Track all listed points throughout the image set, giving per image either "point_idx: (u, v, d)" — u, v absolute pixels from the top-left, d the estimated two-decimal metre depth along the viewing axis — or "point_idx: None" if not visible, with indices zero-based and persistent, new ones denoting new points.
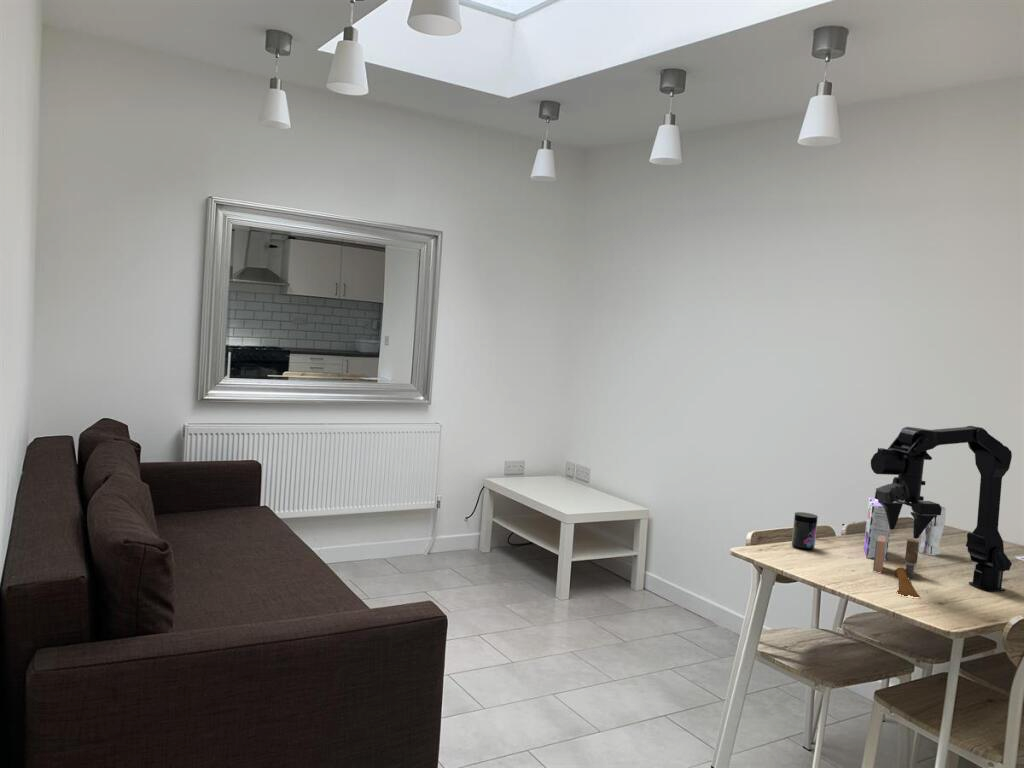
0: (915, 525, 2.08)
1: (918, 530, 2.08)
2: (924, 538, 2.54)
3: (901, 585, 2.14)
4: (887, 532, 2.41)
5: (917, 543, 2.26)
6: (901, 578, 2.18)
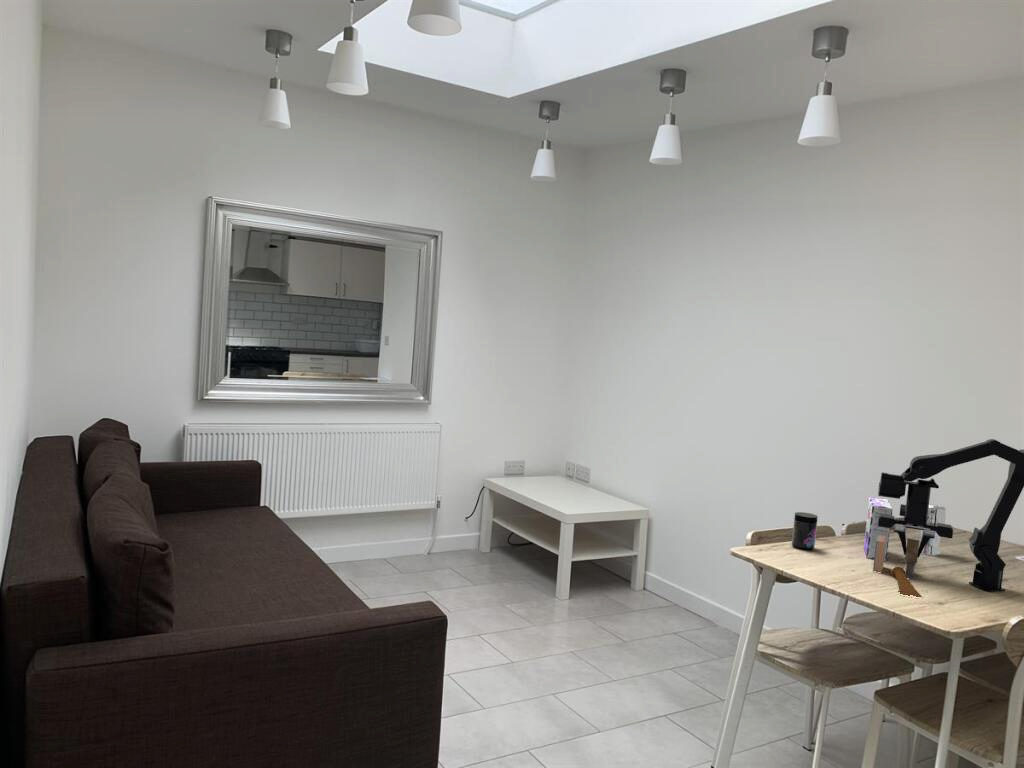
0: None
1: None
2: None
3: (901, 585, 2.14)
4: (887, 532, 2.41)
5: (917, 543, 2.26)
6: (900, 577, 2.19)
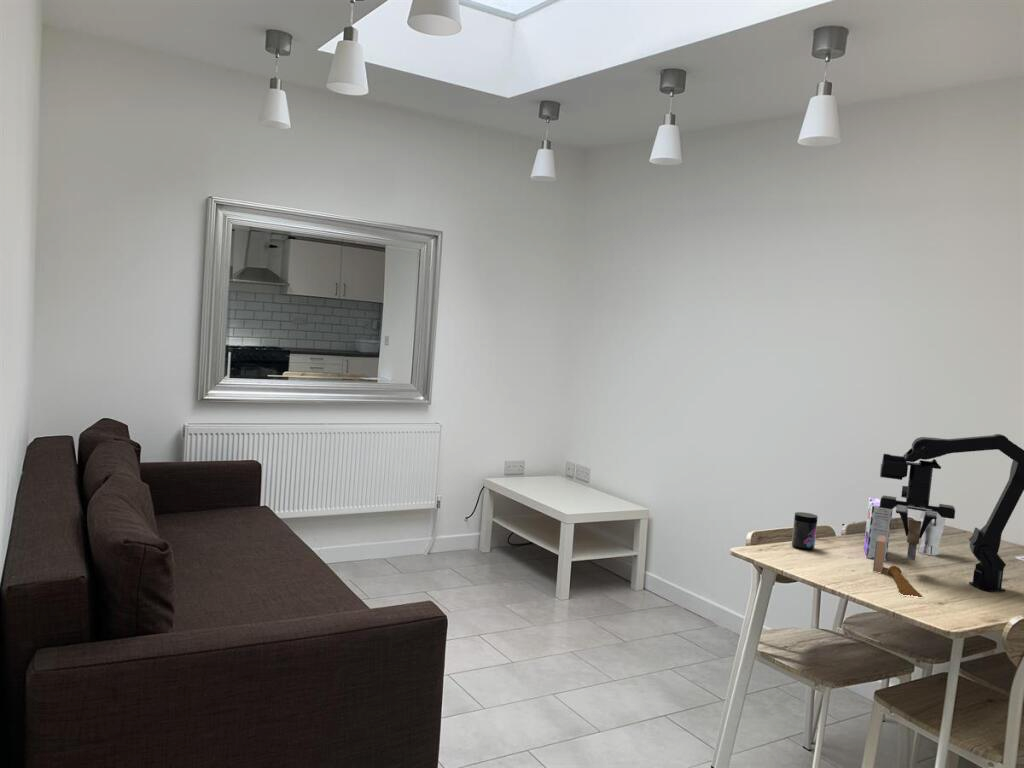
0: None
1: None
2: (924, 538, 2.54)
3: (900, 584, 2.14)
4: (887, 532, 2.41)
5: (919, 524, 2.25)
6: (898, 577, 2.19)
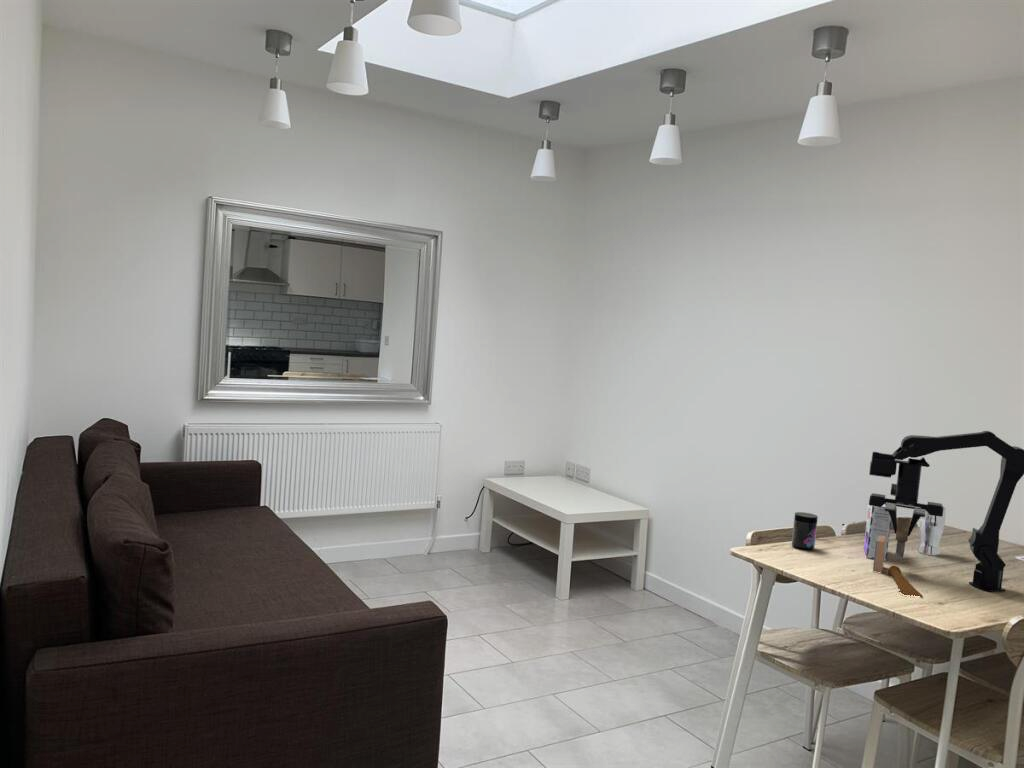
0: None
1: None
2: (924, 538, 2.54)
3: (901, 584, 2.15)
4: (887, 532, 2.41)
5: (908, 521, 2.27)
6: (898, 577, 2.19)
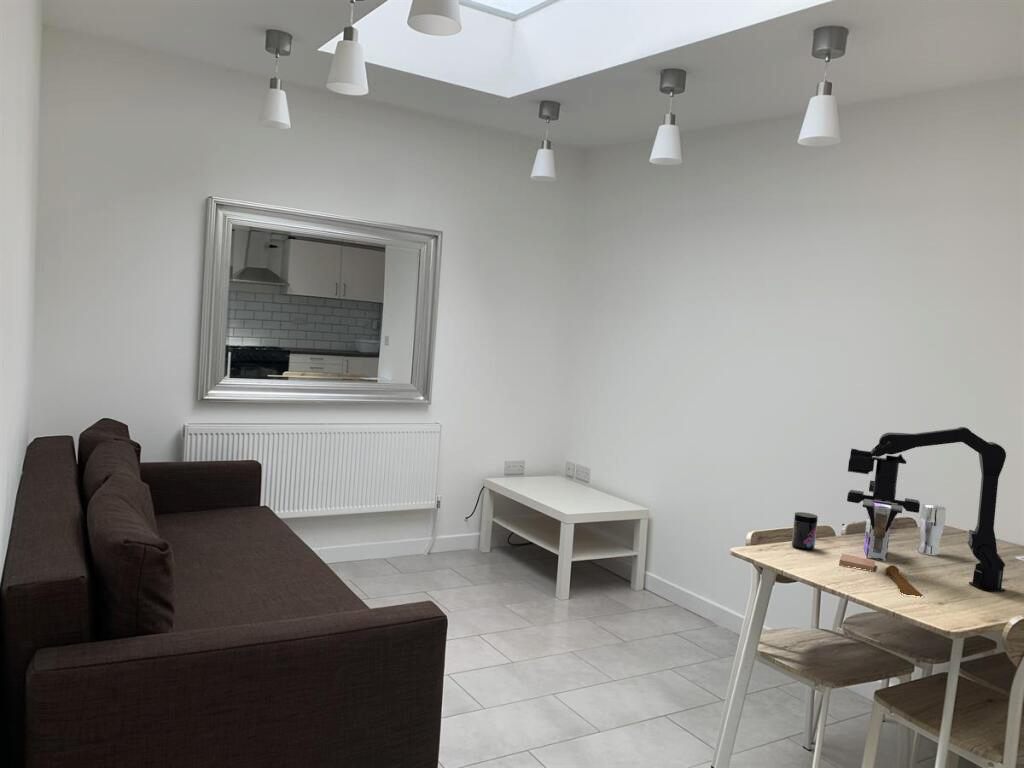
0: None
1: None
2: (924, 538, 2.54)
3: (901, 584, 2.15)
4: (887, 532, 2.41)
5: (885, 517, 2.29)
6: (897, 576, 2.19)
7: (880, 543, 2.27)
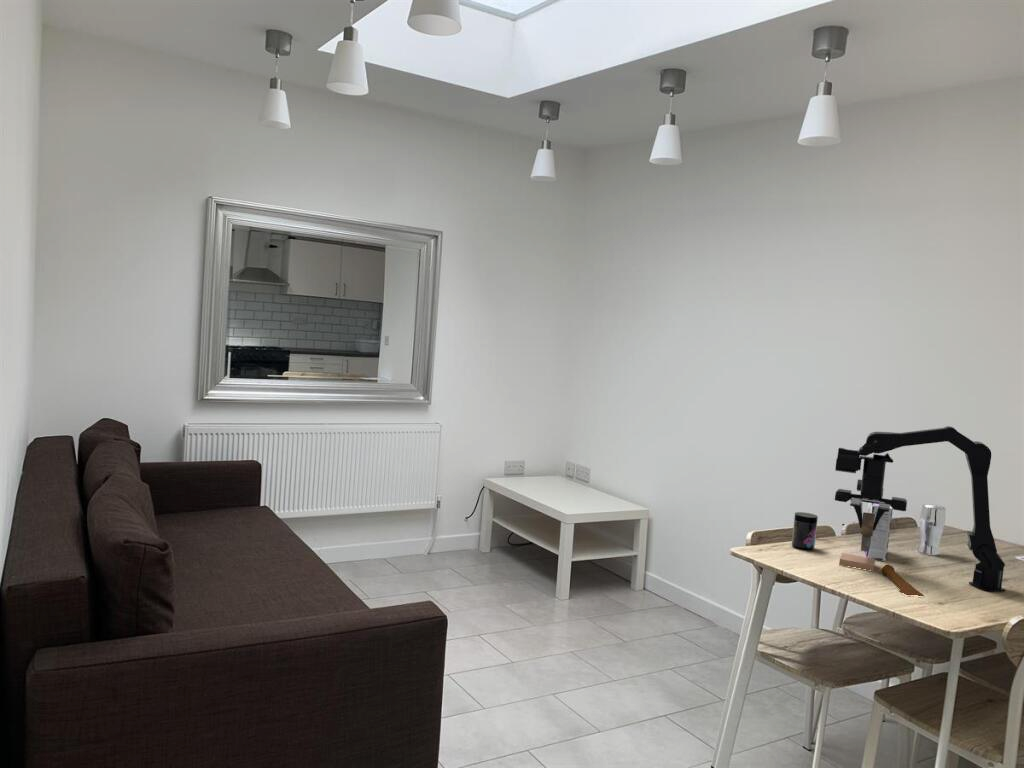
0: None
1: None
2: (924, 538, 2.54)
3: (899, 584, 2.15)
4: (887, 532, 2.41)
5: (872, 516, 2.31)
6: (894, 576, 2.20)
7: (867, 541, 2.29)
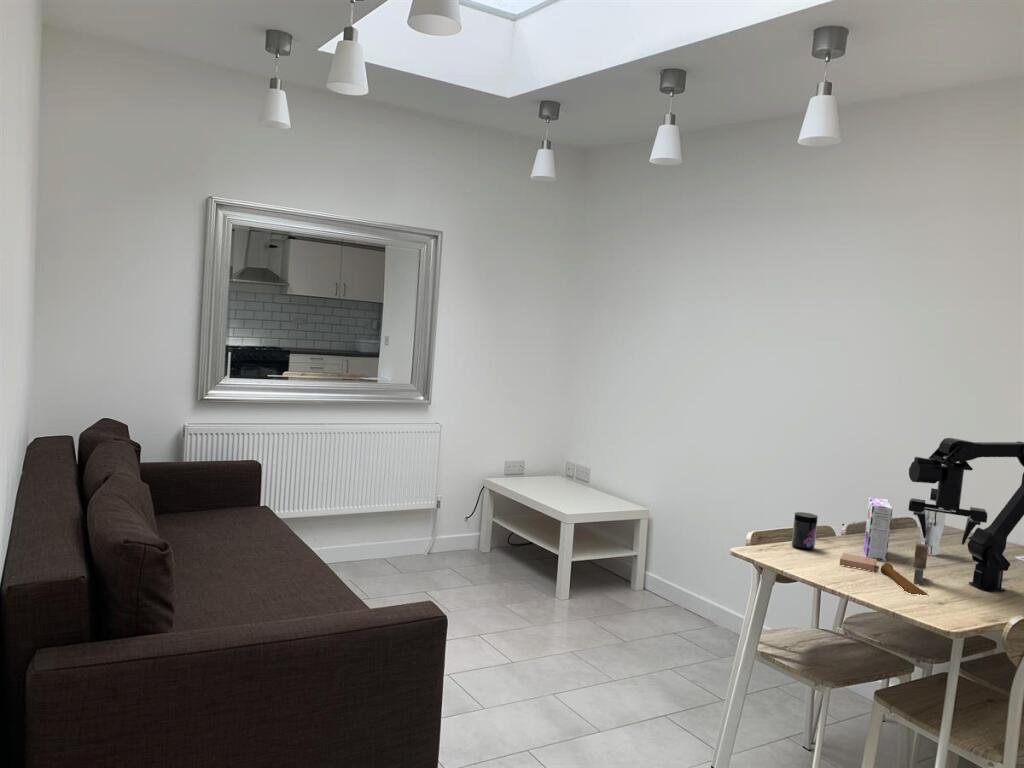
0: None
1: None
2: (924, 538, 2.54)
3: (902, 583, 2.16)
4: (887, 532, 2.41)
5: (926, 548, 2.21)
6: (895, 575, 2.21)
7: (921, 575, 2.19)
